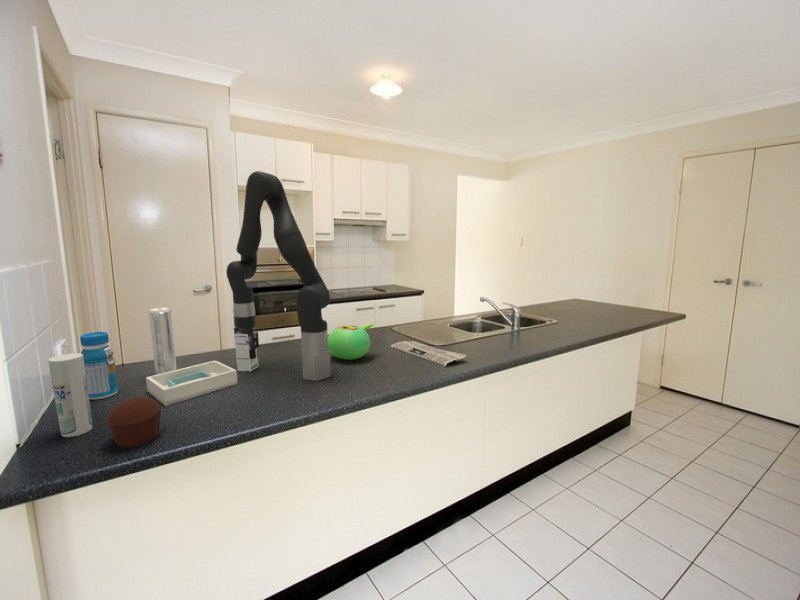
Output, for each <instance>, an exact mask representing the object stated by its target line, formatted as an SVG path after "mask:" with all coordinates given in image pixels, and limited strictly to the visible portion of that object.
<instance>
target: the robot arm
mask: <svg viewBox="0 0 800 600" xmlns="http://www.w3.org/2000/svg"><path fill="white" fill-rule="evenodd" d="M246 181H247V182H246V186H245V197H244V207H243V208H244V209H243V216H242V217H243V219H242V224H241V229H240V233H239V236H238V237H239V238H238V241H237V245H236V253H238V255H241V258H240V260H234V261H231V262H229V263H228V265H227V267H226V277H227V280H228V283H229V284H228V285H229V286H230V290H231V291H232V302H233V305H232V306H233V307H232V311H233V312H232V313H233V325H234V328H233V334H234V335H235V334H237V333H242V334H247V335H248V337H250V338H251V341H249V342H248V341H247V340H246V338H245V340H246V344H248V348H249V358H250V359H254V358H256V348H258V349H259V348H260V342H259V332H258V331H256V332H253V331H254V330H253V328H254V327H256V325H257V322H256V321H257V320H256V319H257V318H256V317H257V316H256V308H255V301H254V299H255V297H254V291H253V290H254V289H253V288H252V287H251V286H249V285H247V283H246V280H250V279H251V278H253V277H254V276H255V275H256V272H257V269H258V250H259V247H260V243H261V241H262V231H263V230H262V223H261V211H262V207H263V204H264V203H266V204H267V206H268V208H269V210H270V212H271V215H272V218H273V236H274V237H273V238H274V241H275V243H276V245H277V249H278V250H279V251H278V252H279V253H280V255H281V256H282V258H283V259H284V260H285V261H286V263H287V264H288V265H289V266H290V267H291V268H292V269H293V270H294V272H295V273H296V274H297V275H298V277H299V278H300V281H301V283H302V284H303V287H301V288H300V289H298V292H297V294H296V303H295V305H296V313H297V321H298V324H299V327H300V341H301V360H302V361H301V363H302V367H301V368H302V378H303V379H304V380H306V381H316V382H319V381H321V380H324V379H327V378H329V377H331V352H330V351H329V349H328V336H329V334H328V322H327V320H325V319H323V315H322V309H325V308H327V306H329V304H330V301H331V295H330V291H329V289H328V288H327V285H326V283H325V282H324V280H323V278H322V277H321V275H320V273H319V271H318V269H317V267H316V265H315V263H314V260H313V258H312V255H311V254H310V251H309V249H308V247H307V244H306V241H305V239H304V237H303V235H302V232H301V230H300V227H299V226H298V224H297V221H296V219H295V217H294V215H293V212H292V210H291V207H290V205H289V202H288V199H287V195H286V192H285V188H284V186H283V184H282V181H281V180H280V179H279V178H278V177H277V176H276V175H275V174H271V173H269V172H263V171H260V170H257V171H253V172H251V174H250V175H249V176H248V178H247V180H246ZM264 201H265V202H264ZM234 335H233V337H234V339H235V336H234ZM255 342H256V344H255ZM250 343H251V345H250Z"/></svg>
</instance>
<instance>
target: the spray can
mask: <svg viewBox="0 0 800 600" xmlns="http://www.w3.org/2000/svg"><path fill="white" fill-rule="evenodd" d="M47 362H48V367H49V373H50V379H51V385H52V390H53V391H52V392H53V396H54V403H55V407H56V415H57V419H58V425H59V426H58V427H59V430H60V431H59V432H60V435H61V436H62V437H64V438H71V437H77V436H80V435H84V434H86V433H88V432H89V431H92V429H93V419H92V412H91V406H90V404H91V403H90V399H89V396H88V389H87V381H86V374H85V367H84V359H83V355H82V354H81V352H80V353H79V352H77V353H76V352H73V353H72V352H71V353H65V354H60V355H56V356H52V357H50V358H48V361H47Z"/></svg>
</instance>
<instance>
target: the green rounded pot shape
mask: <svg viewBox="0 0 800 600" xmlns="http://www.w3.org/2000/svg"><path fill="white" fill-rule="evenodd" d="M373 326H374V323H369V324H364V325H361V326H360V325H359V326H357V325H348V324H345V323H344V324H341V326H338V327H336V328H334V329H333V330H332V331H331V332H330V333H329V334H328V351H330V354H331V355H333V356H335V357H336V358H338V359H341V360H347V361H349V360H358V359H361V358H362V357H363V356H365V355H366V354H367V353H368V352H369V350H370V348H371V338H370V336H369V334H368V332H367V330H369V329H371V328H372V327H373Z"/></svg>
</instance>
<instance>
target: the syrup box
mask: <svg viewBox="0 0 800 600" xmlns="http://www.w3.org/2000/svg"><path fill="white" fill-rule="evenodd" d="M253 332H257V331H256V330H253ZM234 336H235V338H234V345H235V357H236V367H237V369H236V370H237V371H238V372H246V371H249V373H251V372H252V371H254V370H256V369H257V368H259V367H260V359H259V348H256V358H254V359H250V358H249V348H248V344H246V340H247V341H248V342H249V341H251V338H250V337H248V335H247V334H242V333H237V334H235V335H233V337H234ZM245 338H246V340H245ZM255 344H256V342H255ZM250 345H251V343H250Z"/></svg>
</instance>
